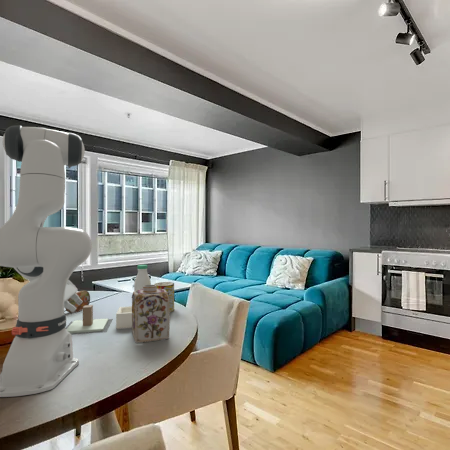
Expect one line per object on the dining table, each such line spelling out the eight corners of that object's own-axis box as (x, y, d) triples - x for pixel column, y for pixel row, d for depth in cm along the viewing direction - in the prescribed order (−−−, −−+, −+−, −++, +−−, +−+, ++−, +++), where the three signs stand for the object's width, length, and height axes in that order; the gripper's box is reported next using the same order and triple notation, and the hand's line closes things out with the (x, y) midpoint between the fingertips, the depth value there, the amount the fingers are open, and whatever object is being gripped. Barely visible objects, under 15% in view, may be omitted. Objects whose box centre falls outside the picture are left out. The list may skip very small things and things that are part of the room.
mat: (106, 333, 116) (106, 332, 116) (58, 336, 113) (58, 335, 113) (112, 320, 132) (112, 319, 132) (71, 322, 128) (71, 321, 128)
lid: (102, 331, 117) (102, 309, 117) (64, 333, 115) (64, 311, 114) (108, 320, 130) (108, 301, 130) (74, 322, 127) (74, 302, 127)
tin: (69, 315, 139) (69, 295, 139) (63, 314, 140) (63, 295, 140) (90, 306, 154) (90, 288, 154) (85, 305, 154) (84, 288, 154)
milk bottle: (147, 309, 147) (146, 266, 147) (131, 309, 148) (131, 266, 148) (153, 305, 155) (153, 264, 154) (138, 304, 156) (138, 263, 156)
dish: (143, 328, 121) (143, 312, 121) (116, 329, 119) (116, 313, 119) (145, 320, 131) (144, 305, 131) (119, 321, 129) (119, 307, 129)
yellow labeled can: (150, 312, 143) (150, 285, 143) (159, 306, 152) (159, 281, 152) (169, 313, 141) (169, 286, 141) (177, 308, 150) (177, 282, 150)
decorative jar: (134, 344, 105) (134, 289, 105) (131, 333, 116) (131, 283, 116) (170, 339, 110) (170, 287, 110) (164, 328, 121) (163, 281, 121)
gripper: (46, 281, 110) (77, 308, 112) (64, 271, 130) (89, 294, 132) (32, 295, 109) (63, 321, 111) (52, 283, 129) (78, 306, 131)
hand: (78, 306), depth 122 cm, fingers open, 8 cm apart
